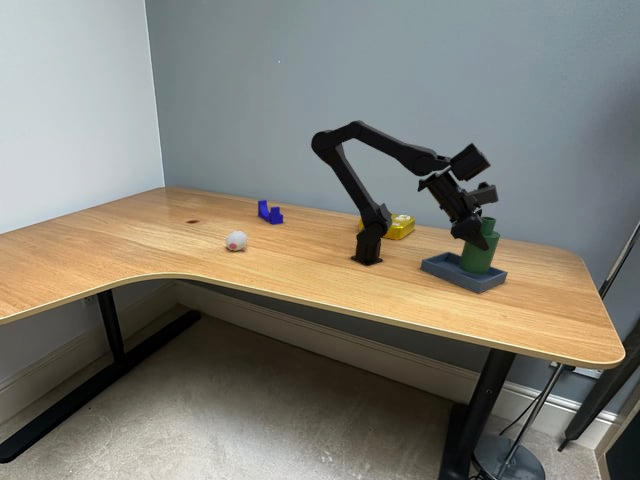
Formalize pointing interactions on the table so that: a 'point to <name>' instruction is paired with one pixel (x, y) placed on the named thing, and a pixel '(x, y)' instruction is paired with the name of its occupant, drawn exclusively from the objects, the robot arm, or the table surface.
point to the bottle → (480, 250)
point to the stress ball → (236, 240)
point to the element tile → (397, 226)
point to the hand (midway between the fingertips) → (487, 245)
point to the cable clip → (271, 217)
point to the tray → (462, 273)
